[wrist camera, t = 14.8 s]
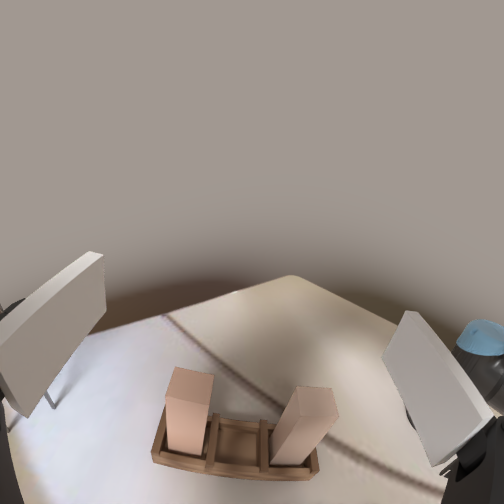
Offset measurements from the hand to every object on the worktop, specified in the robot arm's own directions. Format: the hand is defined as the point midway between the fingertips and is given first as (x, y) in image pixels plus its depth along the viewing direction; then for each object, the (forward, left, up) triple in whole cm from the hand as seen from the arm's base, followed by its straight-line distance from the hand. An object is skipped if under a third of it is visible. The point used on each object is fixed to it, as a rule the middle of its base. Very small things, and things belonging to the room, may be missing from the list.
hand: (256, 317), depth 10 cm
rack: (-10, -5, -32) cm, 34 cm away
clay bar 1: (-5, -10, -31) cm, 33 cm away
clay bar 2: (-15, 0, -31) cm, 34 cm away
